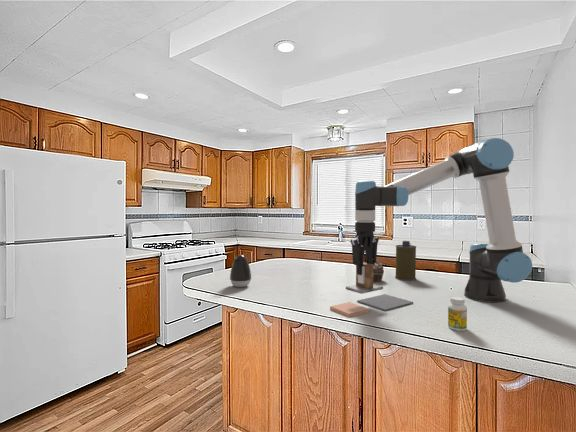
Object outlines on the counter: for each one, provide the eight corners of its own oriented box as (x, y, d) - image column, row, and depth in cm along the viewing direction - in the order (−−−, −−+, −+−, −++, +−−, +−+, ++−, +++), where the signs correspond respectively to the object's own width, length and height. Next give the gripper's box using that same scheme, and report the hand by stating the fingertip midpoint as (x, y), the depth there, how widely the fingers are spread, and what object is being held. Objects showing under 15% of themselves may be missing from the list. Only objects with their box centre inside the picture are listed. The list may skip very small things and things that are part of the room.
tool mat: (413, 303, 132) (413, 301, 132) (385, 311, 123) (385, 309, 123) (384, 295, 144) (384, 294, 144) (357, 301, 134) (357, 300, 134)
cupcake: (368, 277, 179) (369, 259, 179) (386, 280, 173) (386, 261, 173) (361, 280, 171) (361, 261, 171) (379, 283, 166) (380, 263, 165)
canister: (413, 281, 170) (414, 242, 169) (393, 278, 176) (393, 241, 175) (417, 277, 179) (418, 240, 179) (398, 275, 185) (398, 239, 184)
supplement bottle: (470, 329, 105) (471, 299, 104) (458, 332, 102) (459, 301, 102) (455, 324, 109) (456, 295, 109) (444, 326, 107) (444, 297, 107)
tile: (368, 308, 122) (349, 313, 116) (368, 313, 122) (349, 318, 116) (349, 302, 130) (330, 306, 124) (349, 306, 130) (330, 310, 125)
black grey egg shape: (225, 287, 157) (225, 255, 156) (237, 282, 166) (236, 252, 166) (244, 289, 153) (244, 257, 152) (255, 284, 163) (254, 254, 162)
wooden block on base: (367, 285, 134) (367, 260, 134) (383, 289, 128) (383, 263, 127) (345, 289, 127) (345, 263, 127) (361, 293, 121) (361, 266, 120)
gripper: (371, 220, 134) (371, 278, 135) (342, 221, 125) (342, 283, 126) (386, 221, 128) (386, 281, 129) (357, 222, 119) (357, 287, 120)
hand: (364, 282), depth 127 cm, fingers closed on wooden block on base, 3 cm apart
